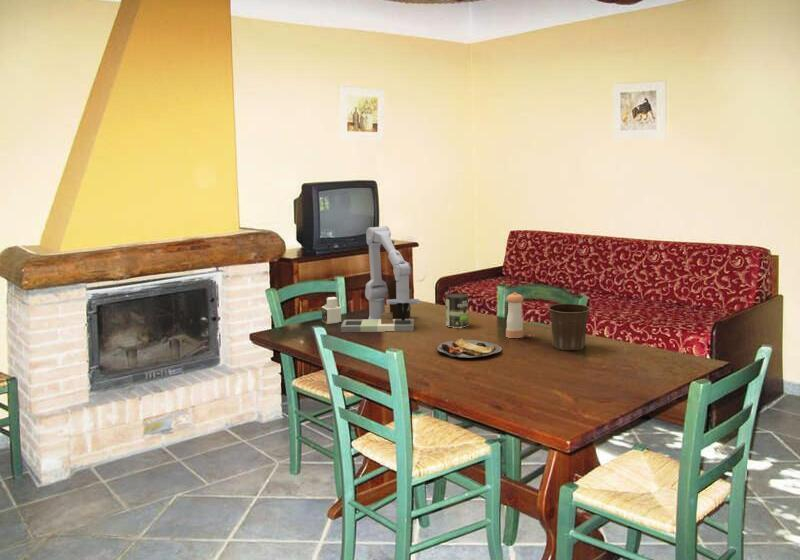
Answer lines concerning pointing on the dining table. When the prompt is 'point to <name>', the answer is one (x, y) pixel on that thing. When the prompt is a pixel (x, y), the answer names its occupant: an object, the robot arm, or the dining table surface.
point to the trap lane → (377, 325)
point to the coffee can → (456, 310)
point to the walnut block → (386, 318)
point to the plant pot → (568, 325)
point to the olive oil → (393, 296)
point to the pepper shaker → (514, 316)
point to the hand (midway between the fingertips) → (403, 319)
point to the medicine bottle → (331, 310)
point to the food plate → (468, 348)
